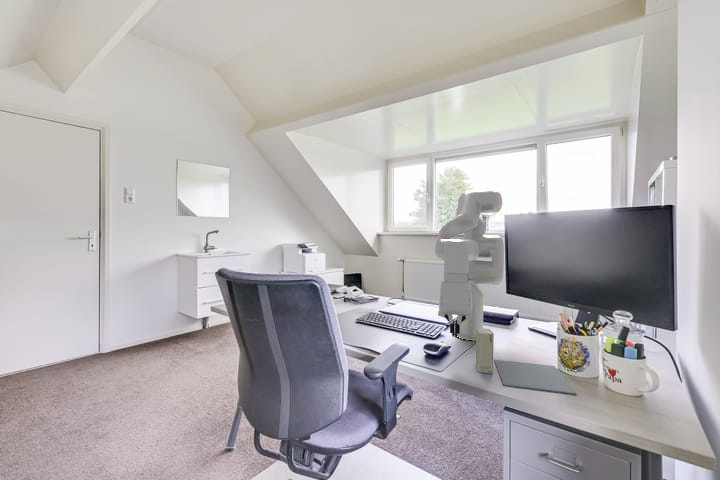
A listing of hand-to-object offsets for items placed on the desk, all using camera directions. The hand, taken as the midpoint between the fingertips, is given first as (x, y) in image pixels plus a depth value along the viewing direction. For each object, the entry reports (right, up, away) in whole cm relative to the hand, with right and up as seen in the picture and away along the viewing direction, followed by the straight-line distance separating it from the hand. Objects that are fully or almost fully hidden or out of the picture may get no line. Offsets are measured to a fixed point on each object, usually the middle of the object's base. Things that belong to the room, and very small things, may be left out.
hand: (454, 335), depth 102 cm
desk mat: (+21, -10, -6) cm, 24 cm away
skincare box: (+9, -10, -2) cm, 14 cm away
